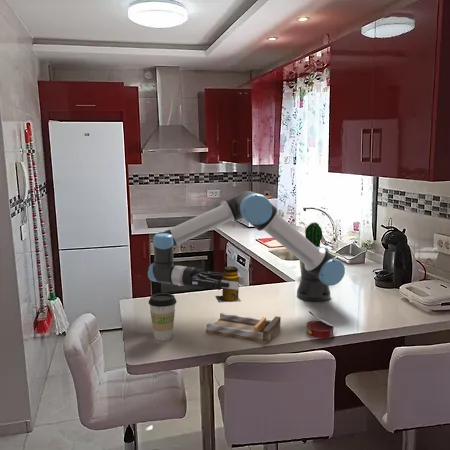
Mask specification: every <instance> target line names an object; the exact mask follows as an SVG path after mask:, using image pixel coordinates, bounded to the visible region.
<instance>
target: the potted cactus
mask: <svg viewBox="0 0 450 450" xmlns="http://www.w3.org/2000/svg"><path fill="white" fill-rule="evenodd" d="M304 230H305V231H304V232H305V233H304V235H303V236H304V237H305V238H307V239H308V240H309V241H310V242H311V243H312V244H314V245H315V246H316V247H321V241H322V240H323V233H324V231H323V229H322V227H321V225H319V223H318V222H316V221H313V222H310V223H309V222H308V225H307V224H306V228H305V229H304ZM298 260H299V266H300V267H299V268H300V271H301V270H302V261H301V260H300V259H298Z"/></svg>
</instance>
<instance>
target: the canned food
mask: <svg viewBox="0 0 450 450" xmlns="http://www.w3.org/2000/svg"><path fill="white" fill-rule="evenodd" d="M308 313H309V314H310V315H312V316H313V317H315V318H316V319H317V320H310V321H308V322H306V330H305V331H306V334H307V335H308V336H310V337H313V338H317V339H329V338H331V337H333V336H334V327H335V326H334V324H332V323H331V322H329V321H326V320H324V319H322V318H320V317H318V316H316V315H315V314H314V313H312V311H310V310H308Z"/></svg>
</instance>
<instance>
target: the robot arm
mask: <svg viewBox="0 0 450 450" xmlns="http://www.w3.org/2000/svg"><path fill="white" fill-rule="evenodd" d="M278 212H279V211H278V208H277V207H275V206H274V205H273V204H272V202H270V200H269V198H267V197H266V196H265V195H263V194H261V193H256V192H254V191H250V190H248V191H246V190H245V191H243V192H240V193H238V194H236V195H234V196H232V197H230V198H229V199H226V200H224V201H223V203H222V204H221V205H219V206H216V207H214V208H213V209H211V210H208V211H206V212H204V213H201V214H199V215H197V216H195V217H193V218H191V219H188V220H186V221H184V222H182V223H180V224H177V225H175V226H174V227H171V228H169V229H167V230H165V231H158V232H157V233H155V234H154V236H153V238H152V246H153V255H154V259H153V261H154V262H152V263H151V264H150V265H149V267H148V270H147V277H148V279H149V281H152V282H156V283H158V284H168V285H175V286H176V285H177V286H178V287H181V286H182V287H183V286H185V287H188V288H194V287H199V288H200V287H201V288H206V289H212V290H217V291H220V290H221V289H222V288H227V289H235V290H238V289H239V288H240V287H239V286H240V285H242V286H245V285H246V277H245V276H239V282H234V281H226V280H223V274H224V273H223V272H218V271H217V272H216V271H211V270H210V271H209V270H207V271H205V272H204V271H201V272H199V270H198V268H197V267H194V266H193V267H191V266H186V265H185V266H183V265H178V264H177V265H176V264H174V247H176V246H179V245H181V244H182V243H185V242H186V241H189V240H191V239H194V238H196V237H198V236H200V235H202V234H204V233H207V232H208V231H211V230H213V229H215V228H218V227H219V226H222V225H224V224H227V223H228V222H236V221H238V220H242V219H244V220H245V221H246V222H247V223H249V224H250V225H251V226H253V227H254V228H255V229H256V230H258V231H259V232H261V231H265V232H266V233H267V234H268V235H269V236H270V237H271V238H273V239H274V240H275V241H276V242H278V243H279V244H280V245H281V246H283V247H284V248H285V249H286V250H287V251H289V252H290V253H291V254H292V255H293V256H294V257H296V258H297V259H298V260H299V259H300V260H301V261H302V270H301V269H300V275H301V276H300V278H301V279H300V282H299V284H298V287H297V290H296V297H297V298H298V299H301V300H304V301H307V302H324V301H325V302H326V301H328V300H330V299H331V289H330V287H332V286H335V285H338V284H339V283H340V282H341V281H343V278H344V277H345V275H346V274H345V273H346V267H345V264H344V263H343V261H341V259H338V258H337V257H335V256H333V255H332V254H331V253H330V252H329V248H328V247H324V246H319V247H316V246H315V245H314V244H312V243H311V242H310V241H309V240H308V239H307V238H306V236H305V235H303V234H302V233H301V232H300V231H298V230H297V229H296V228H295V227H294V226H292V225H291V224H290V223H289V222H288V221H286V219H284V218H283V217H282V216H281V215H279V213H278ZM304 236H305V237H304ZM300 260H299V261H300ZM221 291H222V290H221Z"/></svg>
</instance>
